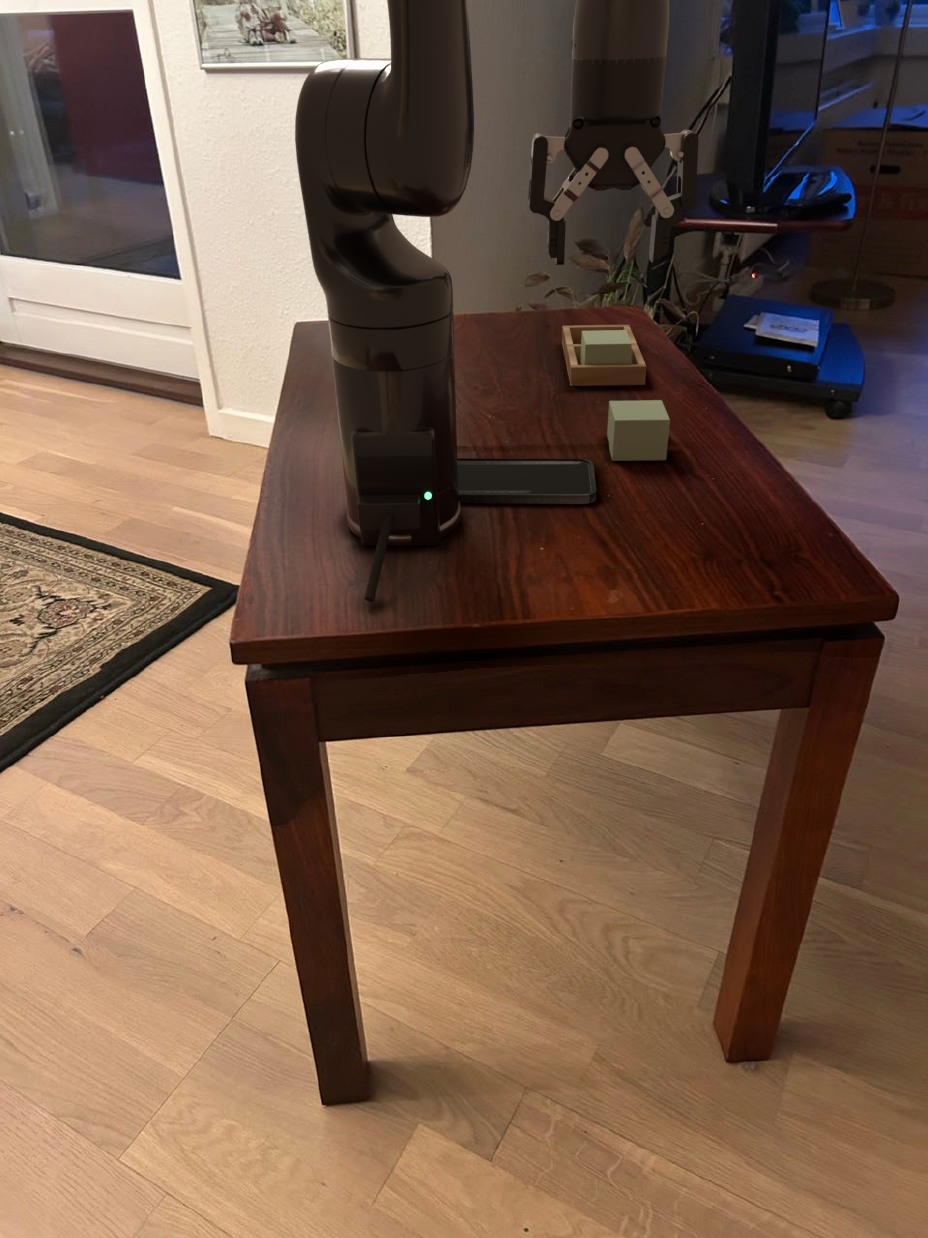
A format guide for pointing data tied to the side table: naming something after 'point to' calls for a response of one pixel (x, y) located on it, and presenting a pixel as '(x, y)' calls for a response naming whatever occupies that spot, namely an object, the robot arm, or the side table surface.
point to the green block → (638, 430)
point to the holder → (601, 373)
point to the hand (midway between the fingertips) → (607, 262)
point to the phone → (526, 480)
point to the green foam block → (605, 347)
